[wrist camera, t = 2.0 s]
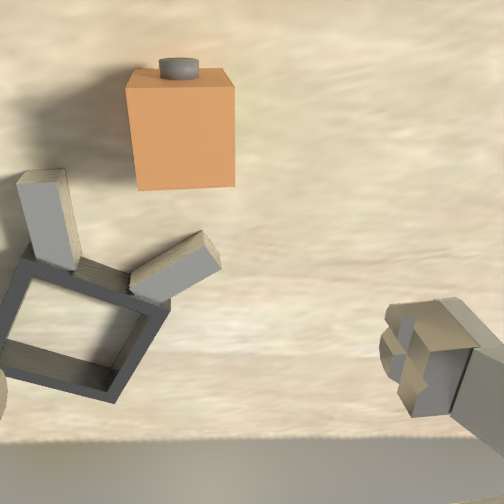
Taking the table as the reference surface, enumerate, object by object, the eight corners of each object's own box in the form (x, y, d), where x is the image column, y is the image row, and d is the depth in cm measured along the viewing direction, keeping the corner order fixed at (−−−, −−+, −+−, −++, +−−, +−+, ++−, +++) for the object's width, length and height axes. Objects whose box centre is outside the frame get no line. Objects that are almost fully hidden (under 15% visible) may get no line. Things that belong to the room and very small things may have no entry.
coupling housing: (-37, 337, 32) (-52, 362, 30) (32, 154, 27) (20, 169, 24) (137, 385, 37) (135, 409, 35) (226, 240, 32) (230, 258, 29)
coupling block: (145, 166, 28) (139, 205, 23) (132, 53, 25) (122, 69, 20) (223, 163, 29) (235, 200, 24) (221, 53, 25) (234, 68, 20)
